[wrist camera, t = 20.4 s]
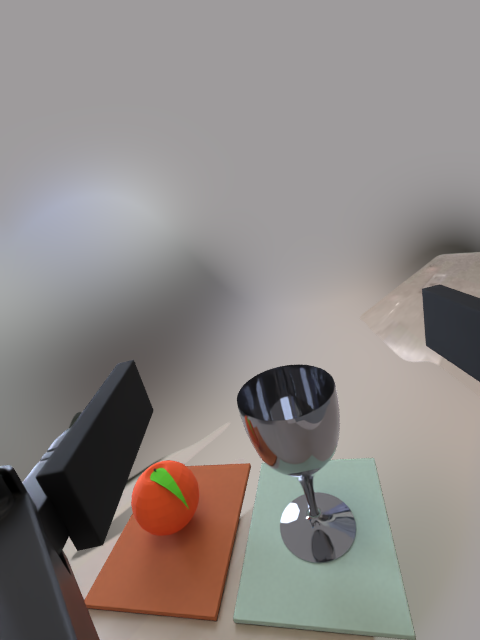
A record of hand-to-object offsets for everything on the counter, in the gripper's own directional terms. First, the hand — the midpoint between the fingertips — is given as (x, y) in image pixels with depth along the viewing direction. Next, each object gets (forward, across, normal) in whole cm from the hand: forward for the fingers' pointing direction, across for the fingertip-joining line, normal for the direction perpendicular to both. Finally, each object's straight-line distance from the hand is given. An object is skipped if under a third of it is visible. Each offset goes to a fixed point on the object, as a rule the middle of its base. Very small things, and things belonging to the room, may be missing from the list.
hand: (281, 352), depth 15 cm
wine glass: (+10, 0, -23) cm, 25 cm away
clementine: (+13, -14, -23) cm, 30 cm away
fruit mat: (+13, -14, -23) cm, 30 cm away
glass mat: (+10, 0, -23) cm, 25 cm away
